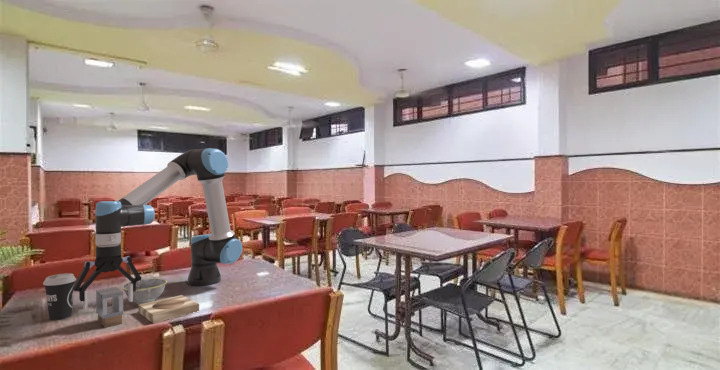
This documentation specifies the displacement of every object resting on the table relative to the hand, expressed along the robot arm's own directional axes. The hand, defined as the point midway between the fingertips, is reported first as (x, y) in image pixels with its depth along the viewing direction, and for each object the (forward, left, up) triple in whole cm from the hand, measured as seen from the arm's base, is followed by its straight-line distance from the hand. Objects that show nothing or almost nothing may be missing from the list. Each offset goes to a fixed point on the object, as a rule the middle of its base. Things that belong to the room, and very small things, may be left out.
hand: (108, 305), depth 134 cm
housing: (0, 0, -3) cm, 3 cm away
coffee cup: (-19, -11, -6) cm, 23 cm away
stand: (0, 0, -6) cm, 6 cm away
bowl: (-15, +16, -6) cm, 23 cm away
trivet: (+5, +18, -6) cm, 20 cm away
